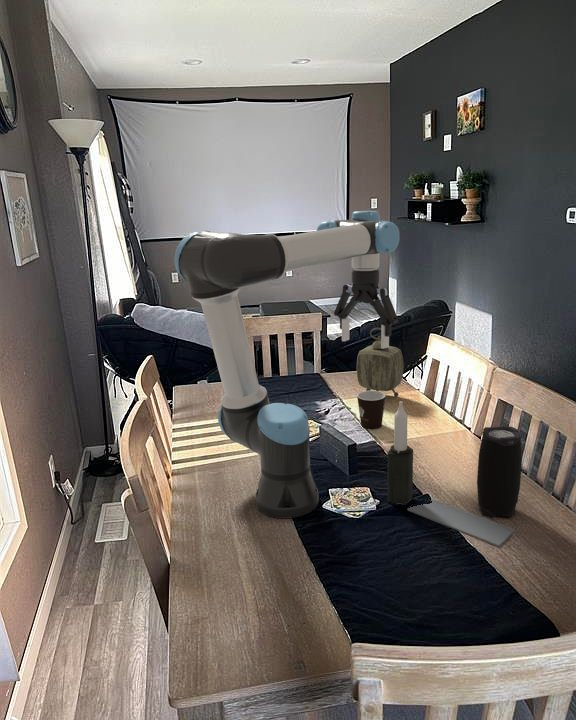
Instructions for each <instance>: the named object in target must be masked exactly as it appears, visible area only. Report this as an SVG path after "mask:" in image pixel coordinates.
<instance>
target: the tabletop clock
mask: <svg viewBox="0 0 576 720" xmlns="http://www.w3.org/2000/svg"><path fill="white" fill-rule="evenodd" d="M373 331H381V327H373V328H372V329H371V330H370V332H369V335H370V337H371V338H372V339H374V340H375V341H374V342H373V343H372V344H371V345H367V346H366V347H365V348H363V349H361V350H359V351H358V354H357V359H356V377H357V381H358V382H357V383H358V385H359V386H361V388H365V391H379V392H381V391H382V392H390V391H392V393H393V396H394V397H398V396H399V392H396V391H395V388H396V387H398V386H399V385H400V384H401V383H402V381H403V377H404V357H403V353H402V350H401V349H399V347H396V346H391V345H389V347H387V348H384V349H382V348H381V335H377V337H375V336H373V335H372V333H373Z"/></svg>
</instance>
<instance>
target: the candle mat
mask: <svg viewBox="0 0 576 720" xmlns="http://www.w3.org/2000/svg"><path fill="white" fill-rule="evenodd" d="M431 501H432V503H430V504H423V505H422V504H421V505H417V506H413V507H411V506H409V507H410V508H409V507H408V508H407V511H408V512H410V513H413V514H415V515H418V516H420V517H422V518H426V519H428V520H431V521H433V522H435V523H438V524H441V525H443V526H445V527H447V528H451V529H453V530H455V531H458V532H460V533H463V534H465V535H468V536H470V537H472V538H476V539H478V540H481V541H483V542H485V543H488V544H491V545H493V546H496V547H498V548H500V546H501V545H503V544H504V543H505V542H506V541H507V540H508V538H510V537H511V536H512V535H513V534H514V533H515V532H516V529H514V528H512V527H509V526H507V525H504V524H502V523H500V522H499V523H498V522H495V521H494V520H490V519H488V518H484V517H482V516H480V515H477V514H474V513H472V512H469V511H466V510H463V509H461V508H458V507H455V506H453V505H450V504H448V503H444V502H441V501H439V500H436V499H434V498H431Z"/></svg>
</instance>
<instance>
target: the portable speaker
mask: <svg viewBox="0 0 576 720" xmlns="http://www.w3.org/2000/svg"><path fill="white" fill-rule="evenodd" d="M481 435H482V437H481V443H480V447H479V452H478V461H477V462H478V463H477V476H476V477H477V478H476V485H477V486H476V488H477V504H478V509H479V511H480V513H481V514H482V515H483V516H485V517H488V518H490V519H494V518H495V517H500V516H501V517H507V518H508V519H509V518H510V519H511V518H514V515H515V513H516V508H517V504H518V501H519V495H520V489H521V481H522V480H521V479H522V468H523V467H522V465H523V455H522V437H521V433H520V431H519V429H517V428H516V427H514V426H509V425H500V426H499V425H498V426H489V427H486V426H485V427H484V428H483V429H482V433H481Z"/></svg>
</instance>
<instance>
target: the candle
mask: <svg viewBox="0 0 576 720" xmlns="http://www.w3.org/2000/svg"><path fill="white" fill-rule="evenodd" d="M398 404H399V405H398V408H397V411H396V412H395V413H394V417H393V418H394V421H393V422H394V424H393V425H394V426H393V427H394V429H393V431H394V434H393V439H394V440H393V442H394V444H392V445H391V446H390V449H389V450H387V502H388V503H389V502H391V503H390V504H394V503H405V502H408V501H409V500H410V499H411V498H412V499H413V486H414V485H413V484H414V483H413V480H414V449H413V448H412V447H411V446H409V445H408V414H407V412H406V411H405V409H404V402H403V401H402V400H401V401H399V402H398ZM392 502H394V503H392Z"/></svg>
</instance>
